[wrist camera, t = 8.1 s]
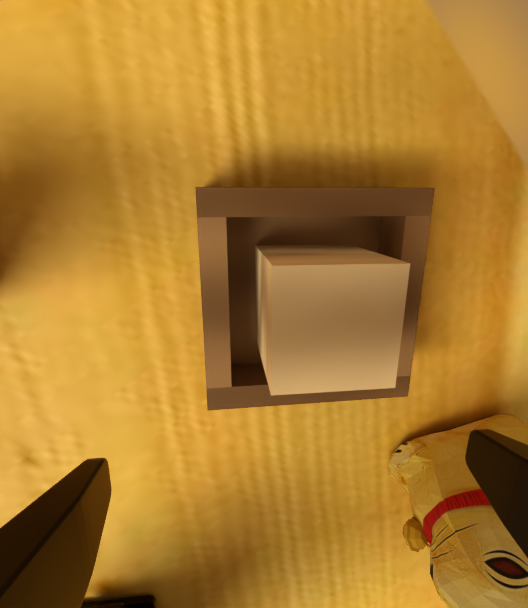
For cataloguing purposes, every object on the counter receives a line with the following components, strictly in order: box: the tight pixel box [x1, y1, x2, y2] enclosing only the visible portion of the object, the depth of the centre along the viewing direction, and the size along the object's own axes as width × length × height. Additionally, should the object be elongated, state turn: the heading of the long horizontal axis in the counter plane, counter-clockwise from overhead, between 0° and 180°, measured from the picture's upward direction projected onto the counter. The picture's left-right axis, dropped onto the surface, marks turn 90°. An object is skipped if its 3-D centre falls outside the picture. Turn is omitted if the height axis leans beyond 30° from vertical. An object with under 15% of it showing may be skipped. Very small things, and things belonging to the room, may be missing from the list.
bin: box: [196, 187, 434, 410], centre depth 18 cm, size 10×10×4 cm
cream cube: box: [255, 244, 410, 395], centre depth 16 cm, size 5×5×6 cm
